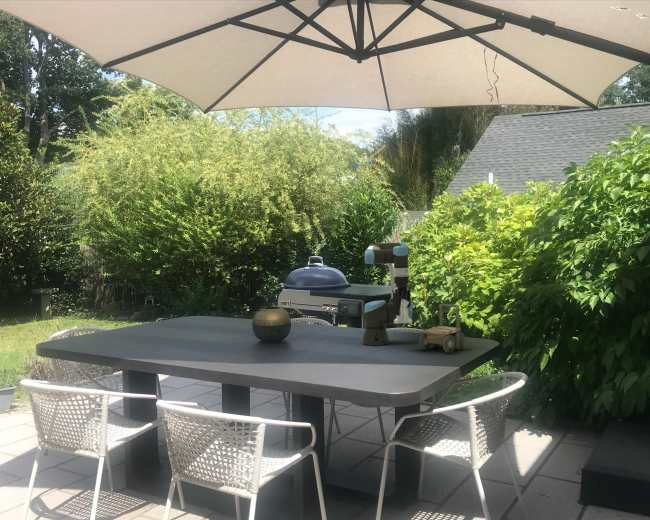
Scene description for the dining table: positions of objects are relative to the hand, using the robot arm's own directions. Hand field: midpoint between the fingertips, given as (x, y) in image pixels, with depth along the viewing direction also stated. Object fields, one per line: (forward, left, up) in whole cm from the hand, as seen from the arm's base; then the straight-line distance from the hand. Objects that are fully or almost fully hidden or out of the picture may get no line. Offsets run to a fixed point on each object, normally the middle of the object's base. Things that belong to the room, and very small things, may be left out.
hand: (402, 320), depth 328 cm
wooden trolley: (+16, +12, -15) cm, 25 cm away
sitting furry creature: (0, 0, -1) cm, 1 cm away
